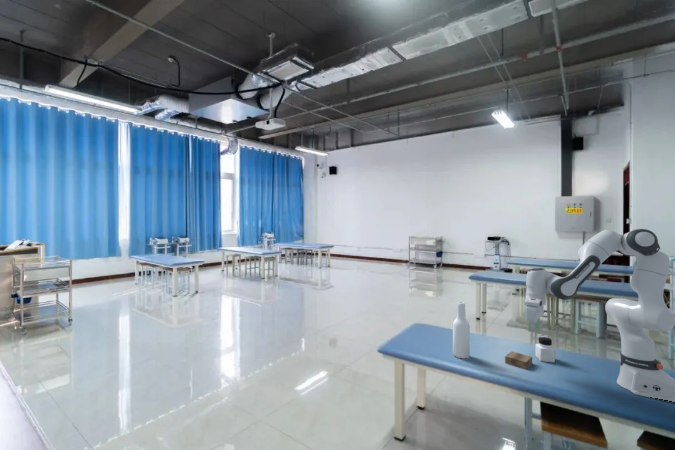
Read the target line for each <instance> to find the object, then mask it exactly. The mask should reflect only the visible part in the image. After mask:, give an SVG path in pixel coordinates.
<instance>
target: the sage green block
mask: <svg viewBox="0 0 675 450" xmlns="http://www.w3.org/2000/svg"><path fill="white" fill-rule="evenodd" d="M527 322H528V327H527V328H528V329H527V330H528V332H531V333H536V334H541V333H542V332H543V321H542V320H540V321H536V328H535V329H533V328H531V321H527Z"/></svg>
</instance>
